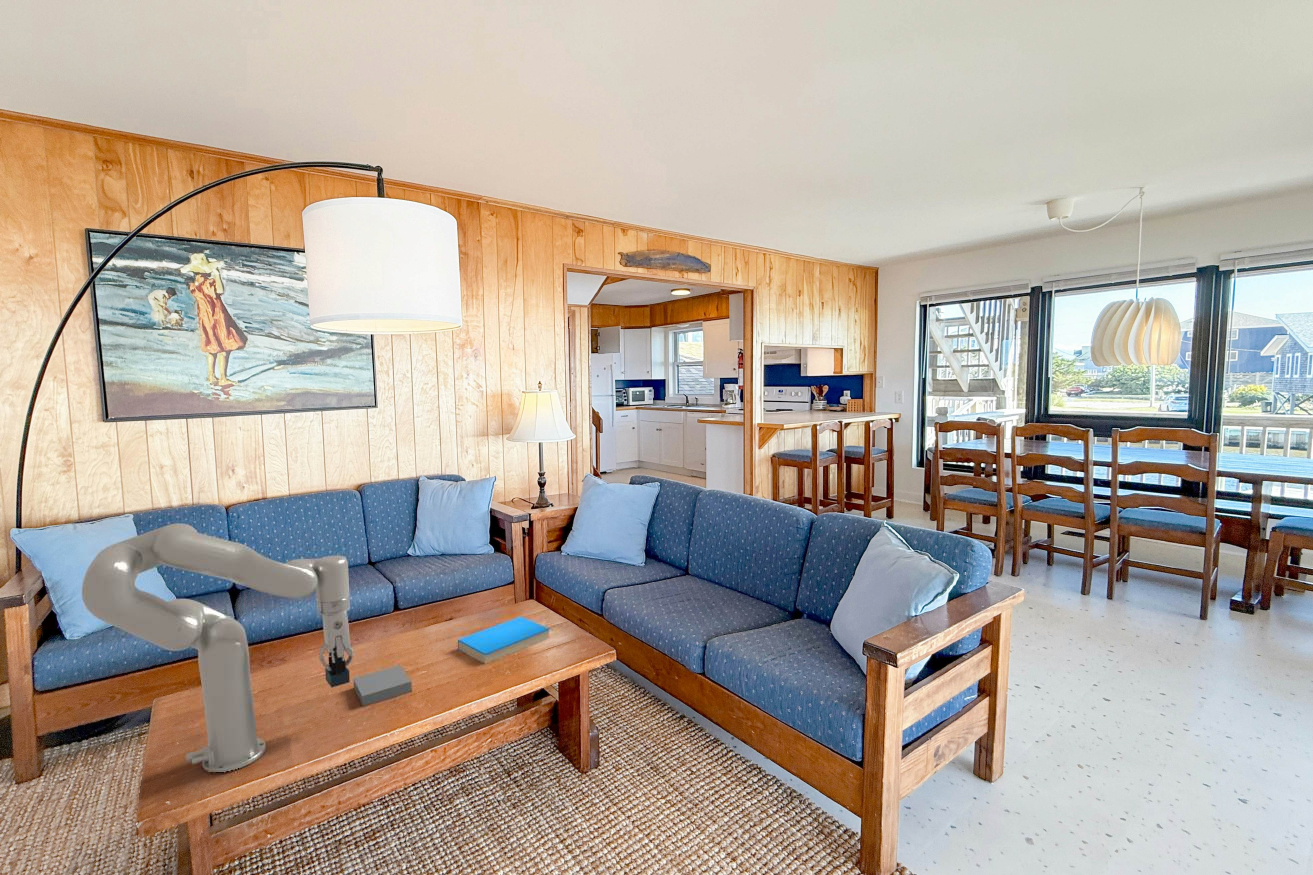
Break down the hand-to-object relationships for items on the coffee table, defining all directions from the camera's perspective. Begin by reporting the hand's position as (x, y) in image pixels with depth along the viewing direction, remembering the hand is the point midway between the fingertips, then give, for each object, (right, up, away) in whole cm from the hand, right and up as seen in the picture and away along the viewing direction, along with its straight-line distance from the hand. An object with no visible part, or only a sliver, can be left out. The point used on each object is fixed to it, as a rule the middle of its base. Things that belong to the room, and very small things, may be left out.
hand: (337, 672), depth 162 cm
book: (+32, -9, +47) cm, 58 cm away
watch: (0, -2, 0) cm, 2 cm away
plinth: (+4, -12, +19) cm, 22 cm away
